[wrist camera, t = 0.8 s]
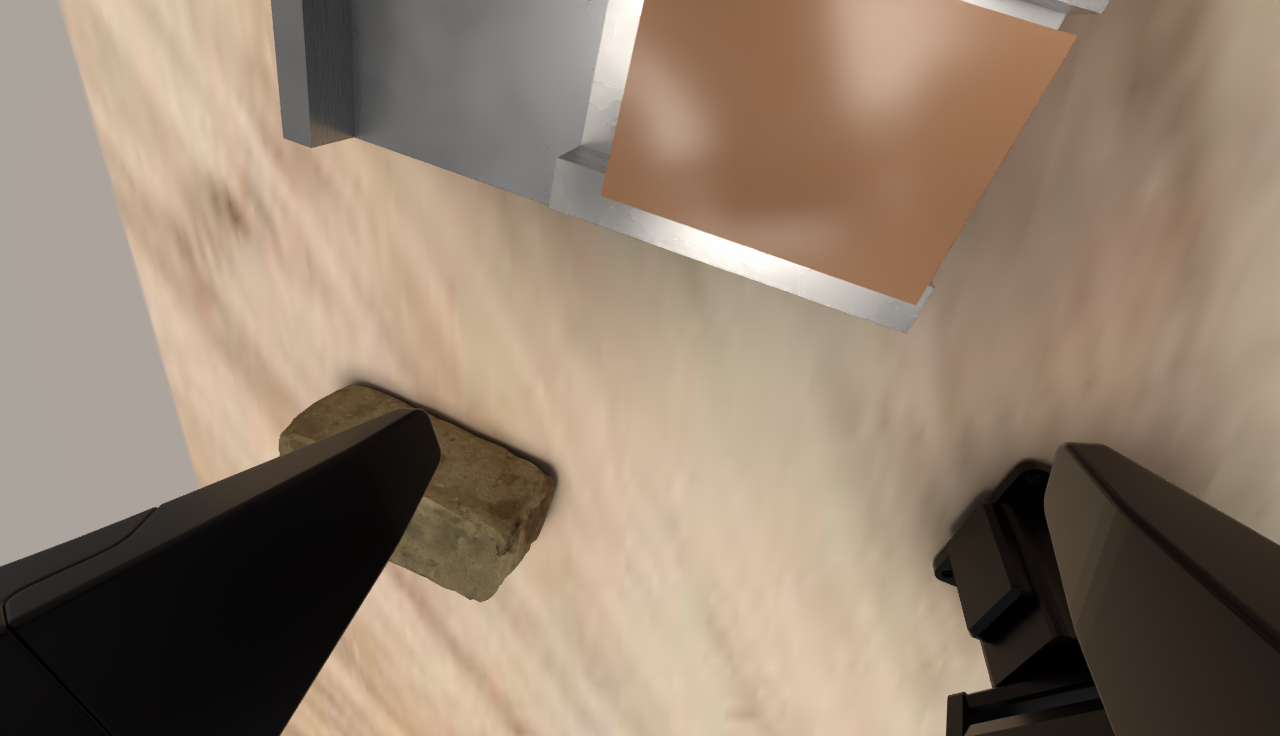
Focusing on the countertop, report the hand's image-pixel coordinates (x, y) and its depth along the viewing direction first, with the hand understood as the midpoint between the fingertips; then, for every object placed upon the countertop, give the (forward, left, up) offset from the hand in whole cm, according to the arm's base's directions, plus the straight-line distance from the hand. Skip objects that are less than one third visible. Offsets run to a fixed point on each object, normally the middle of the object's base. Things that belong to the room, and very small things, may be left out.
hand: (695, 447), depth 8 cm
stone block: (+10, +16, -13) cm, 23 cm away
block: (0, -4, -11) cm, 12 cm away
